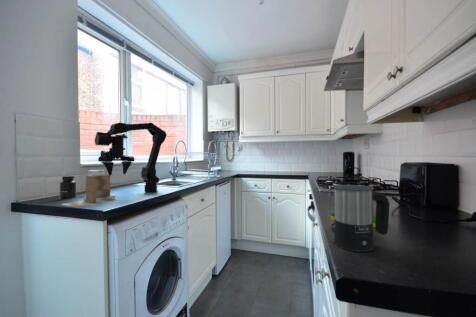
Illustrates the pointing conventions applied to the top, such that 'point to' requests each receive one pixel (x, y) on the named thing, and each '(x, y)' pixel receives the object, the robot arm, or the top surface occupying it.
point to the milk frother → (358, 217)
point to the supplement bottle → (67, 187)
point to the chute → (84, 203)
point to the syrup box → (95, 172)
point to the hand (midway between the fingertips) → (117, 174)
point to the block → (97, 187)
